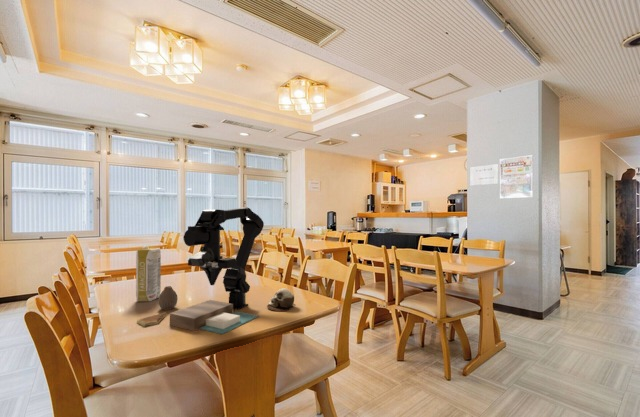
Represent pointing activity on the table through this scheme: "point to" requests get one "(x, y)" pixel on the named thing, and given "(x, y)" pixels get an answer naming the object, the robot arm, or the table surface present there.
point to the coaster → (222, 320)
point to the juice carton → (148, 273)
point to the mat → (243, 319)
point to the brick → (199, 314)
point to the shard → (151, 319)
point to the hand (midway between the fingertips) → (212, 285)
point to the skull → (282, 301)
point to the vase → (168, 298)
